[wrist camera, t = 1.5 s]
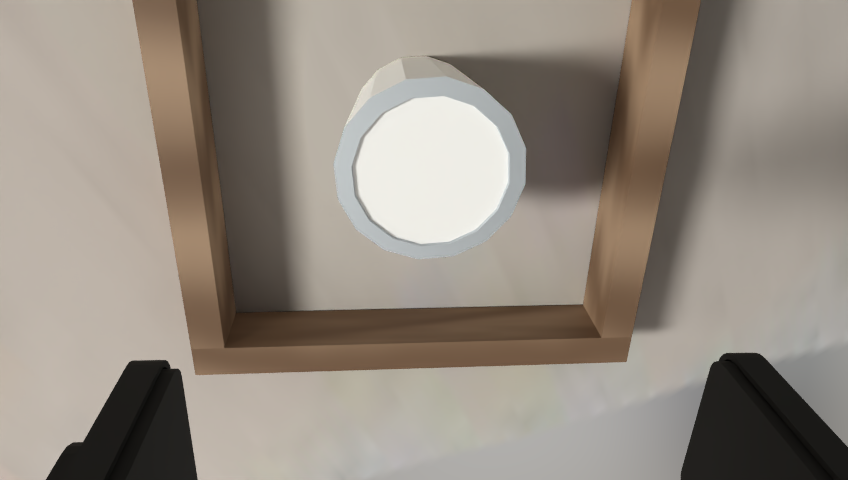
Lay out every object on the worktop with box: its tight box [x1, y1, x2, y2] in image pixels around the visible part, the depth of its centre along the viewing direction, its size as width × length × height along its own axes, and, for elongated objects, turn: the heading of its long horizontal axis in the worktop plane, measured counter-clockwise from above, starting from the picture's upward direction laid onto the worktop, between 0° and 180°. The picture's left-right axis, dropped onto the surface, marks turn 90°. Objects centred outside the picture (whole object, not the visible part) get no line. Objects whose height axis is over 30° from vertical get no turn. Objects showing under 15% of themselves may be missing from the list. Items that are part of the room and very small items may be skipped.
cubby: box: [132, 0, 701, 375], centre depth 28 cm, size 20×21×3 cm
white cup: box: [334, 56, 526, 259], centre depth 25 cm, size 7×7×7 cm
